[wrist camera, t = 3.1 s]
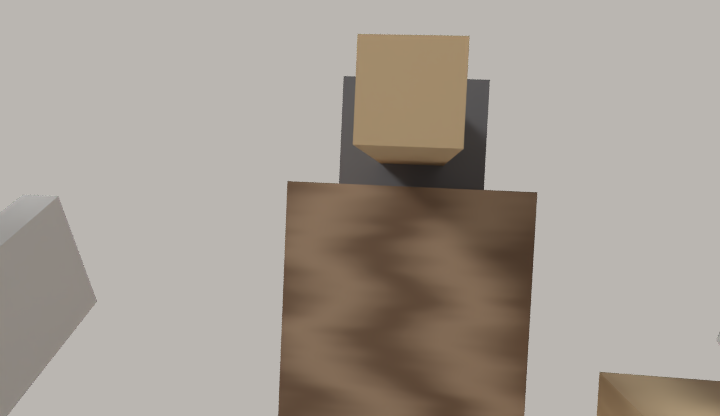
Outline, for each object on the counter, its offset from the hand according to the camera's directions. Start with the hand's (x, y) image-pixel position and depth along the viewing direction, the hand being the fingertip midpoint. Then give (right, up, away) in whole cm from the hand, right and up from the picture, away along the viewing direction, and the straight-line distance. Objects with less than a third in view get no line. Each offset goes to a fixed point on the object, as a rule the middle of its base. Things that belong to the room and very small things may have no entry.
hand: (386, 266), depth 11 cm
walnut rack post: (+1, -30, +23) cm, 38 cm away
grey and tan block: (+2, +2, +17) cm, 17 cm away
